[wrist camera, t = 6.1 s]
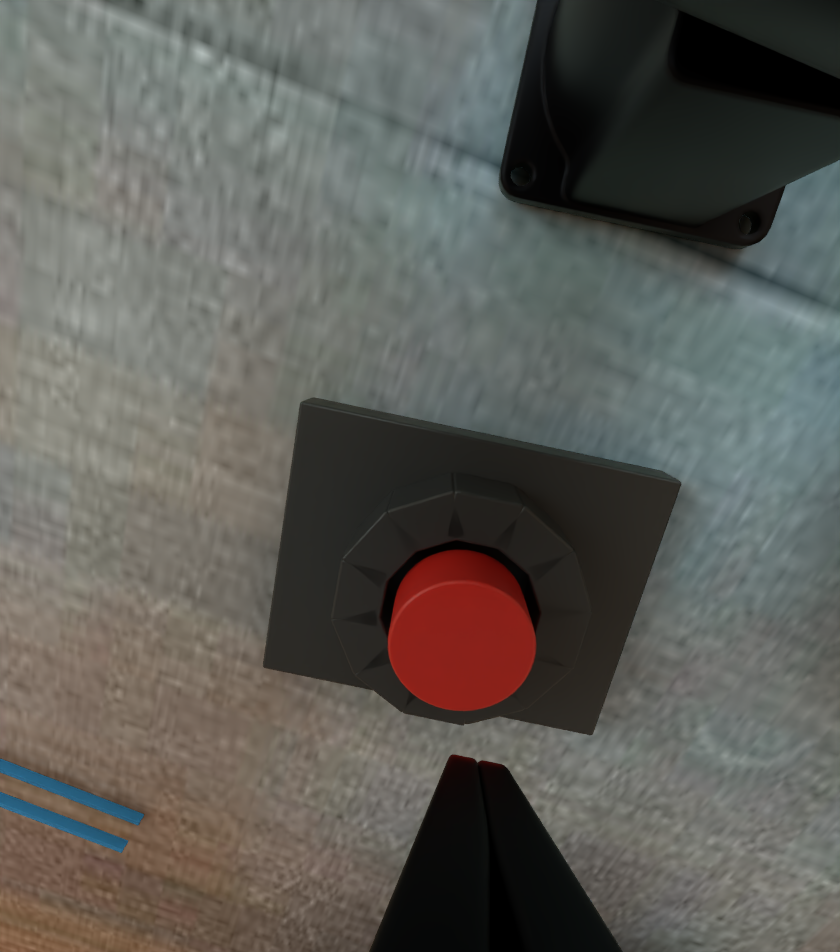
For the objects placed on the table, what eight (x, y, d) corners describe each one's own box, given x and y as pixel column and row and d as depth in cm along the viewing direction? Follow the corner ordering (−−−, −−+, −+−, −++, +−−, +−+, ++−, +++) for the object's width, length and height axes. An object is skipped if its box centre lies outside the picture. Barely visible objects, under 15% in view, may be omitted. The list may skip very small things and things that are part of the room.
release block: (663, 470, 14) (721, 503, 11) (582, 708, 16) (613, 789, 13) (311, 396, 14) (276, 409, 11) (275, 645, 16) (237, 711, 13)
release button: (539, 562, 12) (554, 598, 10) (506, 675, 13) (516, 726, 11) (408, 535, 12) (402, 566, 10) (383, 650, 13) (374, 696, 11)
